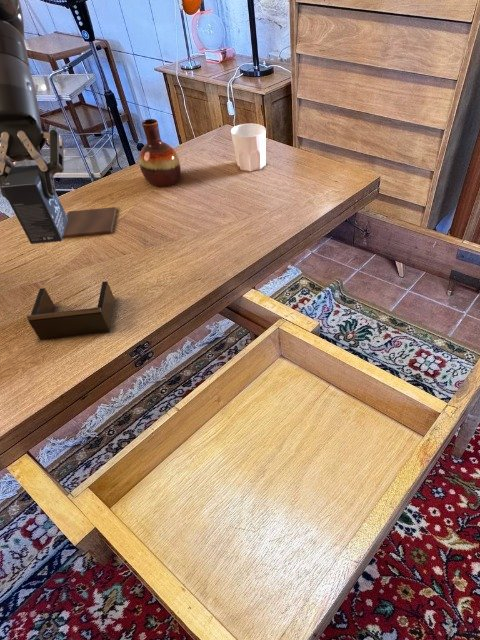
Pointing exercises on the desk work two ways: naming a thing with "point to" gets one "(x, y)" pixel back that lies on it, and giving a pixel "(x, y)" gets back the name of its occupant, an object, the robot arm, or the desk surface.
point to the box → (34, 205)
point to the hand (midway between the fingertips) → (29, 198)
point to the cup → (249, 146)
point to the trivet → (90, 222)
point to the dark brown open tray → (71, 317)
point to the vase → (158, 158)
